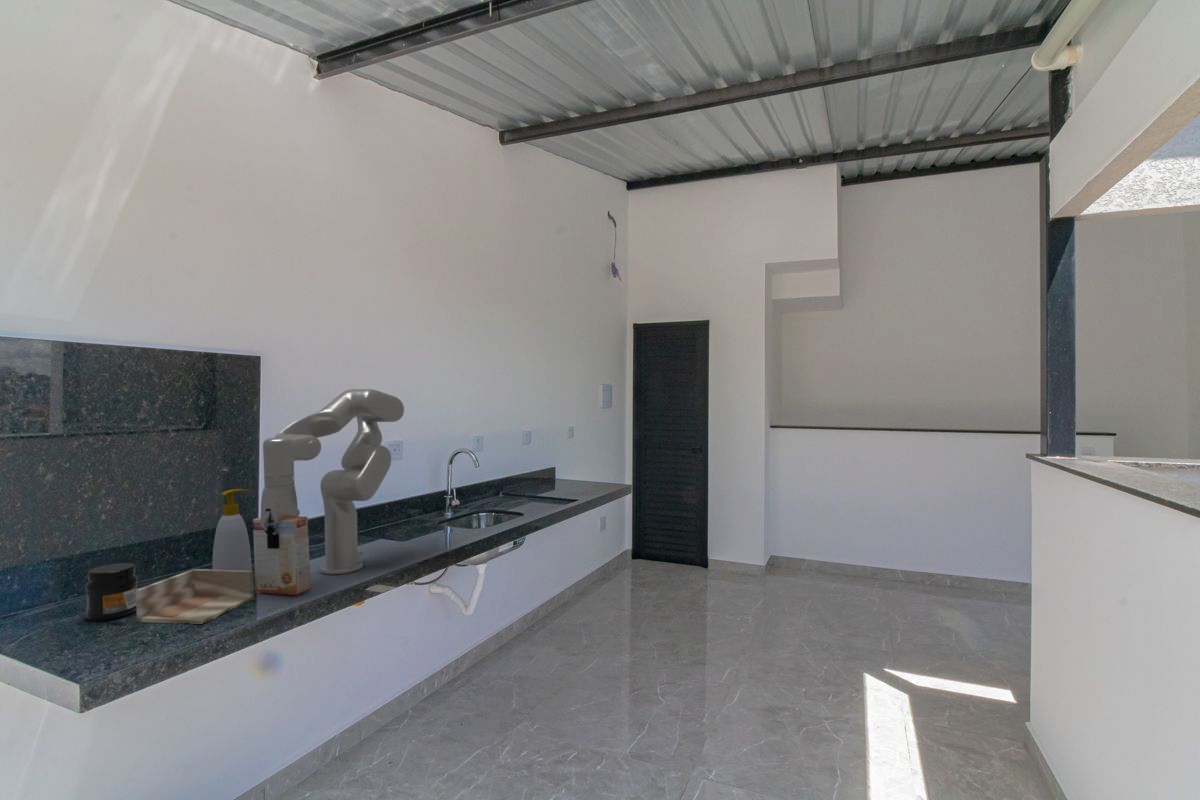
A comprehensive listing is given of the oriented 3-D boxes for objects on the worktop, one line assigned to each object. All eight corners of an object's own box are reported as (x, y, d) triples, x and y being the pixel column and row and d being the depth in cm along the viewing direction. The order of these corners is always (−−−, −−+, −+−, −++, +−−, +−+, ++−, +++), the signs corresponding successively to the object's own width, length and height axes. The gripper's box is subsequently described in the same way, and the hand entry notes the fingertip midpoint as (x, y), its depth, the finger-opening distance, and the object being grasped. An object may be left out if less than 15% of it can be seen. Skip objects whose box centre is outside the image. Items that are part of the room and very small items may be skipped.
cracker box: (311, 588, 175) (309, 515, 175) (296, 596, 170) (293, 520, 169) (271, 585, 179) (268, 513, 178) (254, 592, 173) (251, 518, 173)
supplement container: (141, 614, 158) (140, 567, 158) (88, 625, 151) (87, 576, 151) (135, 604, 166) (134, 560, 166) (84, 614, 159) (82, 568, 158)
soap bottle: (259, 572, 194) (257, 489, 194) (217, 581, 185) (216, 494, 185) (246, 566, 201) (244, 486, 201) (206, 574, 193) (204, 490, 192)
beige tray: (194, 597, 171) (193, 568, 171) (253, 600, 168) (252, 570, 168) (136, 621, 153) (136, 589, 153) (202, 624, 150) (201, 592, 150)
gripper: (287, 476, 182) (289, 537, 183) (245, 486, 165) (247, 553, 166) (310, 476, 181) (312, 537, 182) (271, 487, 164) (273, 553, 165)
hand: (281, 544), depth 174 cm, fingers closed on cracker box, 6 cm apart
